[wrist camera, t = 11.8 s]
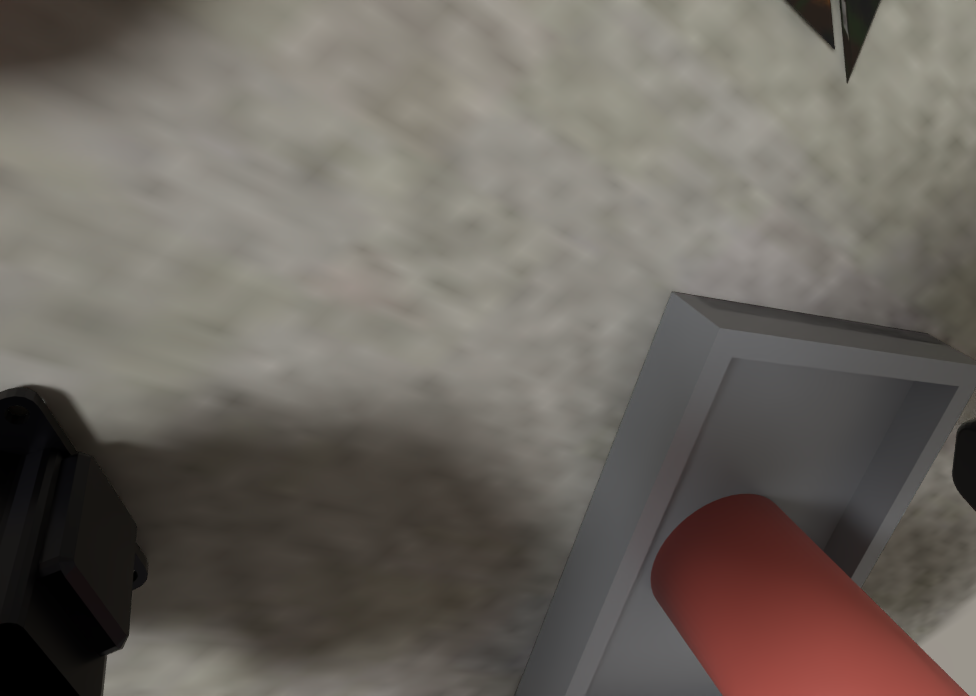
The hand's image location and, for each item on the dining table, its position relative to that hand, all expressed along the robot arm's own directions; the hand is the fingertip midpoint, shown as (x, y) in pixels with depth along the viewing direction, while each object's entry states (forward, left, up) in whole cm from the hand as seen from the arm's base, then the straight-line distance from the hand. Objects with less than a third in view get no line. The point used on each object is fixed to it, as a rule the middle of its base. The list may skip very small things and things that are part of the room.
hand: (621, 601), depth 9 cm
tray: (+8, -16, -13) cm, 22 cm away
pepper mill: (+8, -15, -12) cm, 21 cm away
